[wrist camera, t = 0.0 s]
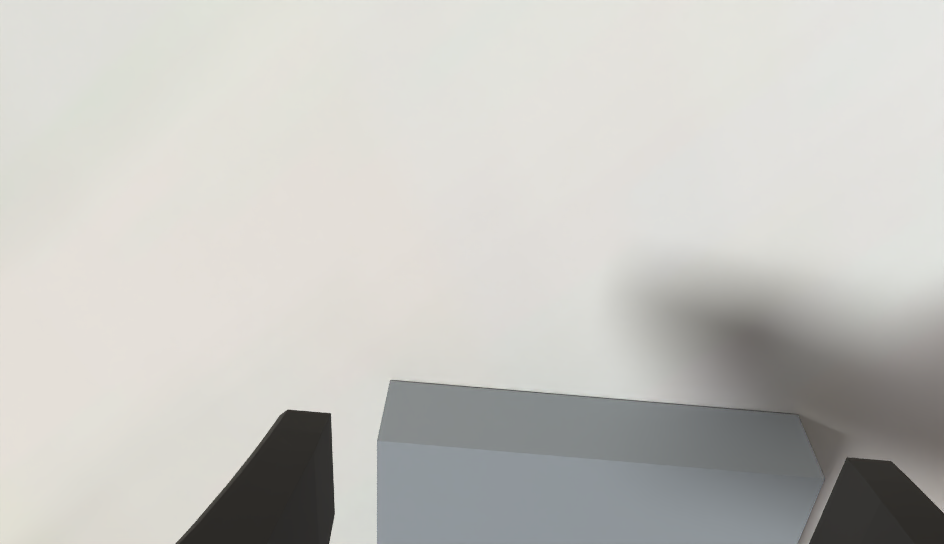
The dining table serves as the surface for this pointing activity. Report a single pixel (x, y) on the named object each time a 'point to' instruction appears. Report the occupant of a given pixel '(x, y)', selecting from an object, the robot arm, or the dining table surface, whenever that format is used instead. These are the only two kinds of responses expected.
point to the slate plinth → (586, 470)
